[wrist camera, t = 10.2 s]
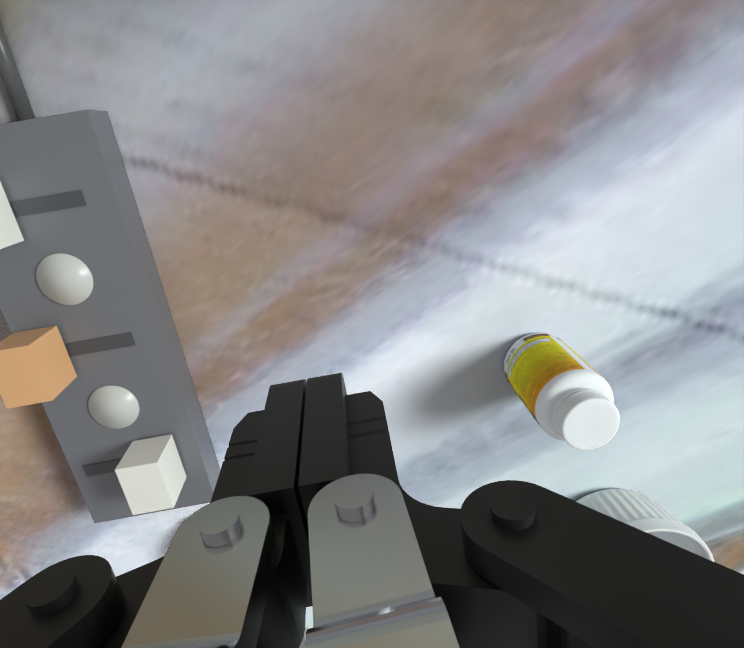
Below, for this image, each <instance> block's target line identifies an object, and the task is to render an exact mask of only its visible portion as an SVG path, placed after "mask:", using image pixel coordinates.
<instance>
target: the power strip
mask: <svg viewBox="0 0 744 648" xmlns="http://www.w3.org/2000/svg"><path fill="white" fill-rule="evenodd" d="M0 74H1V76H2V79H3V82H4V84H5V87H6V90H7V92H8V95H9V98H10V100H11V103H12V106H13V108H14V111H15V114H16V116H17V119H18V121H17V122H11V123H5V124H0V182H1V184H2V187H3V189H4V192H5V194H6V197H7V199H8V202H9V204H10V207H11V209H12V211H13V214H14V216H15V219H16V221H17V224H18V226H19V229H20V231H21V234H22V236H23V239H24V241H22V242H19V243H16V244H13V245H11V246H8V247H5V248H2V249H0V310H1V312H2V314H3V317H4V319H5V321H6V323H7V326H8V328H9V330H10V332H11V334H13V333H16V332H22V331H27V330H33V329H39V328H45V327H50V326H56V325H57V328H58V330H59V333H60V335H61V337H62V340H63V342H64V345H65V347H66V350H67V352H68V355H69V357H70V360H71V362H72V365H73V367H74V370H75V372H76V375H77V377H76V378H75V379H74V380H73V381H72V382H71V383H70V384H69V385H68V386H67V387H66V388H65V389H64V390H63V391H62V392H61V393H60V394H59V395H58V396H57V397H56V398H55V399H54V400H53V401H48V402H42V405H43V407H44V410H45V412H46V414H47V416H48V419H49V421H50V423H51V426H52V428H53V430H54V432H55V435H56V437H57V439H58V441H59V444H60V446H61V448H62V450H63V453H64V455H65V457H66V460H67V462H68V464H69V466H70V469H71V471H72V473H73V475H74V478H75V480H76V482H77V485H78V487H79V489H80V491H81V494H82V496H83V498H84V500H85V503H86V505H87V507H88V510H89V512H90V514H91V516H92V519H93V521H94V523H99V522H104V521H110V520H115V519H121V518H126V517H132V516H137V515H143V514H148V513H154V512H159V511H165V510H171V509H176V508H182V507H187V506H193V505H198V504H204V503H209V502H211V499H212V495H213V492H214V489H215V486H216V483H217V480H218V477H219V473H220V467H219V464H218V461H217V458H216V455H215V452H214V448H213V445H212V442H211V439H210V436H209V433H208V429H207V426H206V423H205V420H204V417H203V414H202V410H201V407H200V404H199V401H198V398H197V395H196V391H195V388H194V385H193V382H192V379H191V376H190V372H189V369H188V366H187V363H186V360H185V357H184V353H183V350H182V347H181V344H180V341H179V338H178V334H177V331H176V328H175V325H174V322H173V319H172V315H171V312H170V309H169V306H168V303H167V299H166V296H165V293H164V290H163V287H162V284H161V280H160V277H159V274H158V271H157V268H156V265H155V261H154V258H153V255H152V252H151V249H150V246H149V242H148V239H147V236H146V233H145V230H144V227H143V223H142V220H141V217H140V214H139V211H138V208H137V204H136V201H135V198H134V195H133V192H132V189H131V185H130V182H129V179H128V176H127V173H126V170H125V166H124V163H123V160H122V157H121V154H120V151H119V147H118V144H117V141H116V138H115V135H114V132H113V128H112V125H111V122H110V119H109V116H108V113H107V111H96V110H83V111H77V112H71V113H65V114H59V115H53V116H47V117H41V118H35V116H34V113H33V111H32V108H31V105H30V102H29V100H28V97H27V94H26V91H25V89H24V86H23V83H22V80H21V78H20V75H19V72H18V69H17V67H16V64H15V61H14V58H13V56H12V53H11V50H10V47H9V45H8V42H7V39H6V36H5V34H4V31H3V28H2V25H1V23H0ZM170 434H172V436H173V439H174V442H175V445H176V448H177V451H178V454H179V457H180V459H181V462H182V465H183V468H184V471H185V474H186V479H185V482H184V484H183V487H182V489H181V492H180V494H179V497H178V499H177V501H176V504H175V506H174V508H170V509H164V510H159V511H153V512H148V513H142V514H137V515H133V514H132V512H131V509H130V507H129V504H128V502H127V499H126V497H125V494H124V492H123V489H122V487H121V484H120V482H119V479H118V477H117V474H116V472H115V469H116V467H117V465H118V464H119V462H120V461H121V459H122V458H123V456H124V454H125V453H126V451H127V450H128V448H129V446H130V445H131V443H132V442H133V441H136V440H142V439H148V438H153V437H159V436H165V435H170Z"/></svg>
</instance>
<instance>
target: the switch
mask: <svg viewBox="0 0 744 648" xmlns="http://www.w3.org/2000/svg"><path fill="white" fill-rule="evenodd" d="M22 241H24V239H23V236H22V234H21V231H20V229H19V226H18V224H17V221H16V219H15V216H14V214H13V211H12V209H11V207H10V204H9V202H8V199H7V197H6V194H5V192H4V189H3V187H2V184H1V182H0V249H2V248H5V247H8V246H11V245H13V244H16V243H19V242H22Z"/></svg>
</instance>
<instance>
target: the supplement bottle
mask: <svg viewBox="0 0 744 648" xmlns="http://www.w3.org/2000/svg"><path fill="white" fill-rule="evenodd" d="M504 373H505V376H506V379H507V380H508V382H509V384H510V385H511V387H512V388H513V389H514V391H515V392H516V394H517V395H518V396H519V398H520V399H521V401H522V402H523V403H524V405H525V406H526V407H527V409H528V410H529V412H530V413H531V414H532V416H533V417H534V419H535V420H536V421H537V423H538V424H539V426H540V427H541V428H542V429H543V430H544V431H545V432H546V433H547V434H548V435H550V436H551V437H553V438H555V439H558V440H563V441H566V442H567V443H568V444H569V445H570V446H572V447H574V448H576V449H580V450H591V449H596V448H598V447H601V446H603V445H604V444H606V443H607V442H608V441H610V440H611V439H612V437H613V436H614V435H615V433H616V432H617V430H618V427H619V423H620V416H619V412H618V410H617V408H616V406H615V405H614V397H613V392H612V389H611V387H610V385H609V384H608V382H607V381H606V380H605V379H604V378H603V377H602V376H601V375H600V374H599V373H598V372H596V371H595V370H594V369H593V368H592V367H591V366H590V365H589V364H588V363H586V362H585V361H584V360H583V359H582V358H581V357H580V356H579V355H578V354H576V353H575V352H574V351H573V350H572V349H571V348H570V347H569V346H567V345H566V344H565V343H564V342H563V341H562V340H560V339H559V338H558V337H556V336H554V335H552V334H548V333H532V334H529V335H526V336H524V337H522V338H520V339H519V340H517V341H516V342H515V343H514V344H513V345H512V346H511V348H510V349H509V351H508V352H507V354H506V357H505V360H504Z"/></svg>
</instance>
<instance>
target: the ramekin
mask: <svg viewBox="0 0 744 648" xmlns="http://www.w3.org/2000/svg"><path fill="white" fill-rule="evenodd" d="M576 502H578V503H580V504H582V505H585V506H587V507H589V508H592V509H594V510H596V511H598V512H601V513H603V514H605V515H608V516H610V517H612V518H614V519H617V520H619V521H621V522H624V523H626V524H628V525H630V526H633V527H635V528H637V529H640V530H642V531H644V532H647V533H649V534H651V535H653V536H656V537H658V538H660V539H663V540H665V541H667V542H669V543H672V544H674V545H676V546H679V547H681V548H683V549H685V550H688V551H690V552H692V553H695V554H697V555H699V556H702V557H704V558H706V559H708V560H711V561H713V562H714V559H713V556H712V553H711V551H710V550H709V548H708V547H707V545H706V544H705V543H704V542H703V540H702V539H701V538H700V537H699V536H698V535H697V534H696V533H695V532H694V531H693V530H692V529H690V528H689V527H687V526H685V525H684V524H682V523H681V522H680V521H679V520H678V519H676V518H675V517H674V516H673V515H672V514H671V513H669V512H668V511H667V510H666V509H665V508H664V507H662V506H661V505H660V504H659V503H657V502H656V501H655V500H653V499H652V498H650V497H648V496H647V495H645V494H642V493H640V492H636V491H633V490H626V489H606V490H601V491H597V492H594V493H591V494H588V495H586V496H584V497H582V498H580V499H579V500H577V501H576Z"/></svg>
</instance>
